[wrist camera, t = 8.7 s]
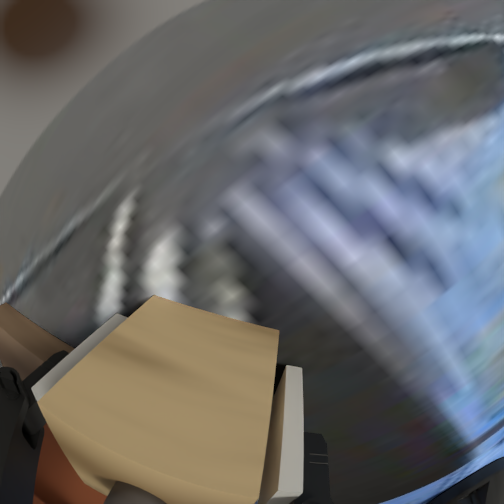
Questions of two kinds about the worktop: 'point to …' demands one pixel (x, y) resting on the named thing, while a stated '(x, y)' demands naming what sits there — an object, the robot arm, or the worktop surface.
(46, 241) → the worktop surface
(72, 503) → the potted cactus
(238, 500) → the tan wooden block
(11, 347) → the board
